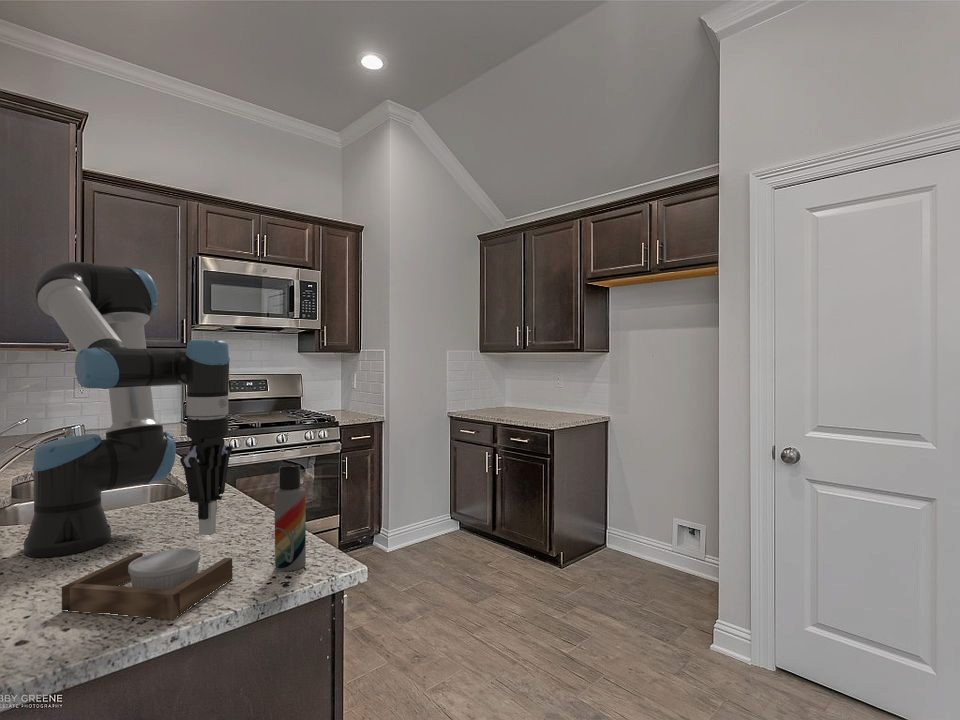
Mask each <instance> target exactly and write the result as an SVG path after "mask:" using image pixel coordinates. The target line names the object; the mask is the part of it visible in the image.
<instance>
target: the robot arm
mask: <svg viewBox="0 0 960 720" xmlns="http://www.w3.org/2000/svg"><path fill="white" fill-rule="evenodd" d="M33 295H34V299H35V301H36V303H37V305H38V307H39V308H40V310H41V311H43V312H44V314H46V315H48V316H49V317H52V318H53V319H54V321H55V322H56V323H57V324H58V326H59V328H60V329H61V331H62V332H63V333H64V336H66V338H67V339H68V340H69V342H70V344H71V345H72V347H73V348H74V349H75V351H76V352H77V354H76V357H75V362H74V374H75V375H76V381H77V382H78V384H79V385H80V387H81V386H82V388H86V389H102V390H108V393H109V403H110V413H111V421H112V423H111V426H110V427H109V428H108V429H107V430H106V431H105V434H106V439H105V440H103V438H102V437H101V436H100V434H96V433H88V434H87V433H85V434H82V435H79V434H78V435H72V436H67V437H63V438H62V437H61V438H58V439H54V440H50V441H48V442H45V443H42V444H41V445H39V446H38V447H37V448H36V449H35V451H34V454H33V464H32V470H31V471H33V517H32V519H31V523H30V526H29V530H28V533H27V536H26V538H25V539H24V540H23V554H24V556H27V557H31V558H52V557H61V556H68V555H72V554H73V555H74V554H78V553H83V552H85V551H88V550H91V549H95V548H98V547H100V546H102V545H104V544H107V543H109V542H110V540H111V539H112V530H111V529H112V528H111V526H110V524H109V523H108V519H107V517H106V513H105V511H104V509H103V506H102V492H105V491H112V490H117V489H122V488H123V489H125V488H128V487H135V486H139V485H140V486H141V485H148V484H151V483H154V482H159V481H162V480H164V479H166V478H167V477H168V476H169V475H170V473H171V472H172V470H173V467H174V465H175V462H176V454H177V448H176V445H177V444H176V442H175V439H174V436H173V434H172V433H170V432H166V431H164V428H163V427H164V426H163V424H162V423H161V422H159V421H158V420H157V419H156V418H155V412H154V403H153V395H152V393H153V392H152V387H159V386H160V387H161V386H162V387H163V386H186V407H185V409H186V411H185V413H186V414H185V415H186V417H189V418H187V420H186V437H187V438H189V439H190V440H191V443H190V446H189V453H188V454H187V455H186V456H181V457H180V460H179V461H180V463H181V465H182V468H183V472H184V477H185V480H186V481H185V482H186V487H187V493H188V499H189V502H190V503H195V504H197V513H198V514H197V518H198V535H203V536H213V535H214V534H216V533H217V510H218V509H217V508H218V507H217V506H218V505H217V504H218V503H217V501H221V500H222V499H223V496H222V495H223V494H225V490H226V483H227V475H228V469H229V462H230V456H231V454H232V452H233V446H230V445H227V444H225V443H226V442H225V438H224V437H227V435H229V433H230V432H229V422H230V421H229V418H228V417H227V415H228V414H229V390H230V389H229V388H230V387H229V385H230V384H229V383H230V356H229V355H230V354H229V344H228V342H227V341H225V340H221V339H220V340H218V339H217V340H214V339H213V340H212V339H211V340H209V339H192V340H191V339H190V340H189V341H188V342H187V344H186V348H182V347H181V348H179V347H178V348H177V347H175V348H147V344H146V343H147V342H146V334H145V333H146V332H145V325H146V324H147V323H148V322H149V321H150V320H151V317H150V316H151V315H154V313H155V312H156V310H157V308H158V300H159V298H158V290H157V286H156V283H155V281H154V279H153V278H152V276H151V275H150V274H149V273H148V272H146V271H145V270H142V269H137V268H132V267H129V266H115V265H107V264H98V263H88V262H83V261H82V262H81V261H68V262H67V261H66V262H61V263H57V264H56V265H53V266H51V267H50V268H48V269H46V270H45V271H44V272H42V274H41V275H40V276H39V277H38V279H37V280H36V282H35V284H34V289H33Z"/></svg>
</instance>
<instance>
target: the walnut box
mask: <svg viewBox="0 0 960 720" xmlns="http://www.w3.org/2000/svg"><path fill="white" fill-rule="evenodd" d="M142 556H144V553H143V552H134V553H131V554H129V555H127V556H125V557H123V558H120V559H118V560H116V561H114V562H112V563H110V564H108V565H105V566H103V567H102V568H99V569H97V570H95V571H92V572H90V573H88V574H86V575H84V576H82V577H79V578H78V579H75V580H74V581H71V582H69V583H67V584H65V585H63V586H61V611H62V610H68V611H79V612H90V613H110V614H118V615H128V616H139V617H151V618H160V619H159V620H162V619H174V618H176V617H177V616H179V615H180V614H181V613H183V612H184V611H186V610H187V609H189V608H190V607H191V606H193V605H194V604H195V603H197V602H199V601H200V600H201V599H203V598H204V597H206V596H207V595H209V594H210V593H212V592H213V591H215V590H216V589H218V588H219V587H220V586H222V585H223V584H225V583H226V582H228V581H229V580H231V579H232V580H233V558H232V557H223V558H222V559H220V560H219V561H217V562H215V563H213V564H212V565H211V566H209V567H206V568H205V569H204V570H202V571H200V572H199V573H197V575H195V576H194V577H192V578H190V579H189V580H187V581H185V582H184V583H182V584H180V585H179V586H177V587H175V588H174V589H172V590H163V589H149V588H134V587H132V586H122V585H121V584H123V583H124V584H126V583H128V582H130V581H131V577H130V574H129V572H128V566H129V564H130V563H131V562H132V561H134V560H136V559H138V558H140V557H142ZM129 580H130V581H129ZM232 580H231V581H232ZM127 581H128V582H127ZM125 582H126V583H125ZM228 583H229V582H228ZM124 584H123V585H124ZM119 585H121V586H119ZM225 585H226V584H225ZM218 590H219V589H218ZM215 592H216V591H215ZM212 594H213V593H212ZM209 596H210V595H209ZM206 598H207V597H206ZM199 603H200V602H199ZM193 607H194V606H193ZM190 609H191V608H190ZM190 609H189V610H190ZM186 612H187V611H186ZM183 614H184V613H183ZM180 616H181V615H180ZM180 616H179V617H180ZM177 618H178V617H177ZM177 618H176V619H177ZM174 620H175V619H174Z"/></svg>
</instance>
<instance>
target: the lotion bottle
mask: <svg viewBox="0 0 960 720" xmlns="http://www.w3.org/2000/svg"><path fill="white" fill-rule="evenodd" d="M278 469H279V470H278V471H279V473H278V475H279V477H278V478H279V479H278V480H279V481H278V482H279V483H278V485H279V488H277V489H275V490H274V564H275V565H274V567H275V569H276V570H277V571H278V570H279V571H278V572H284V571H287V572H293V570H294V571H297V569H298V570H300V569H302V568H304V567H305V565H306V560H307V559H306V558H307V555H306V553H307V549H306V548H307V547H306V546H307V542H306V540H307V539H306V534H307V533H306V529H307V527H306V526H307V525H306V489H305V487H303V486H301V484H302V483H301V465H300V464H295V465H285V466H284V465H282V466H281V465H280V466H279V468H278Z"/></svg>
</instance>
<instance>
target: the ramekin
mask: <svg viewBox="0 0 960 720" xmlns="http://www.w3.org/2000/svg"><path fill="white" fill-rule="evenodd" d="M200 561H201V553H200V552H199V551H198V550H195V549H193V548H192V549H191V548H173V549H167V550H160V551H155V552H151V553H149V554H146V555H143V556H142V557H140V558H138V559H136V560H134V561H132V562H131V563H130V564H129V566H128V572H129V574H130V577H131V580H130V582H131V587H134V588H149V589H163V590H172V589H174V588H175V587H177V586H179V585H180V584H182V583H184V582H185V581H187V580H189V579H190V578H192V577H194V576H195V575H197V574H198V571H199V570H198V569H199V562H200Z"/></svg>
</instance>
